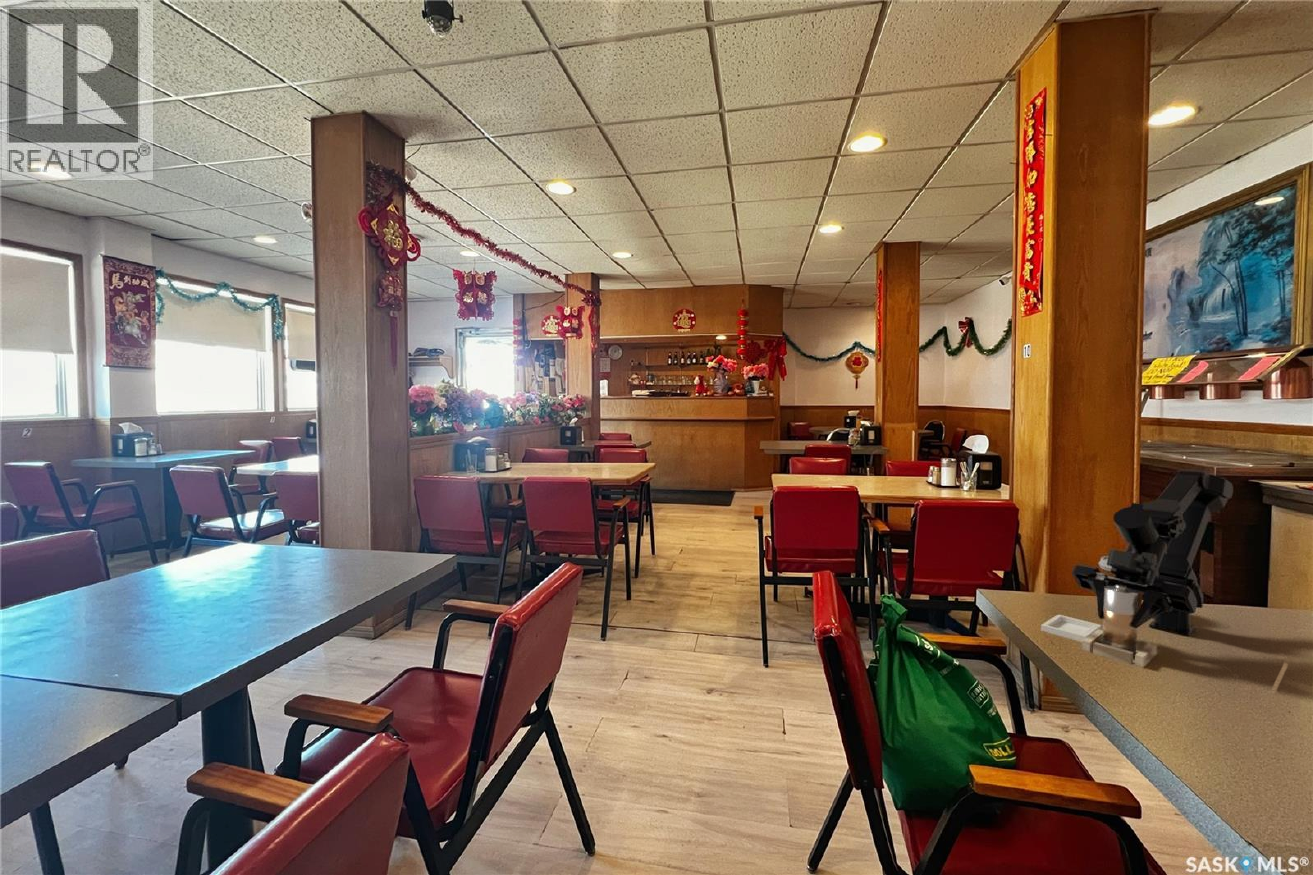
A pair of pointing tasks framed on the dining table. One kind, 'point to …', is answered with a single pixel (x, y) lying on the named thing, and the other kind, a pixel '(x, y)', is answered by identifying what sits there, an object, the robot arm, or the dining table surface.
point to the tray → (1070, 627)
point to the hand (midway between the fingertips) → (1116, 622)
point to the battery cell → (1120, 617)
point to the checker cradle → (1120, 650)
